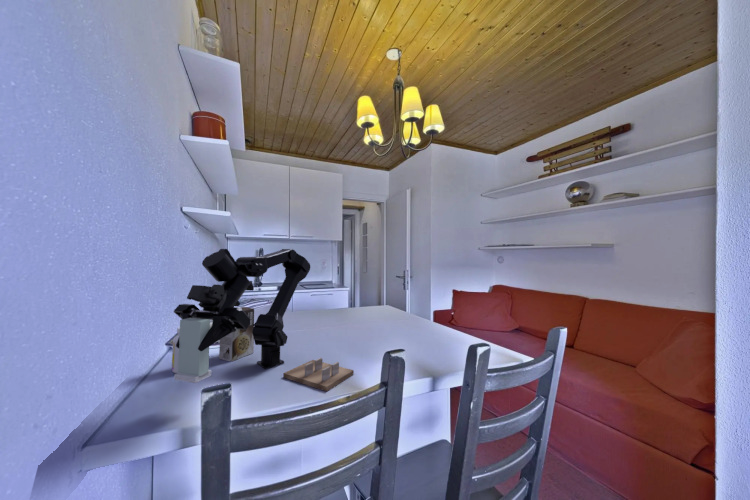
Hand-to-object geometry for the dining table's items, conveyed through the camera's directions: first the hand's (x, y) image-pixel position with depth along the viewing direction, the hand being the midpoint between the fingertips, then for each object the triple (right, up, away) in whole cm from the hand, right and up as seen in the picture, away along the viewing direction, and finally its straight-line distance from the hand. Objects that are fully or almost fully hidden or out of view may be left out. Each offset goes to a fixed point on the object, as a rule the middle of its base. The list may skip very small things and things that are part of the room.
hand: (188, 348), depth 59 cm
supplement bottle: (-16, -14, +21) cm, 30 cm away
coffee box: (-7, -15, +33) cm, 37 cm away
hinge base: (+25, -14, +18) cm, 34 cm away
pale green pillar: (0, -7, +1) cm, 7 cm away
